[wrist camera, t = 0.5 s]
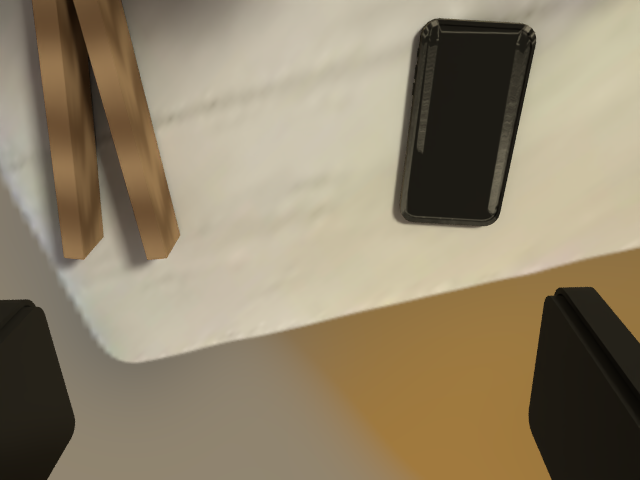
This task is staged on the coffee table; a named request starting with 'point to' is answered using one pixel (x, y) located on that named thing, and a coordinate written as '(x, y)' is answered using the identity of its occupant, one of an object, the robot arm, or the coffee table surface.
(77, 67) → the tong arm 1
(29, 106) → the coffee table surface
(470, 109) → the phone
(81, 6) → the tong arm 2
